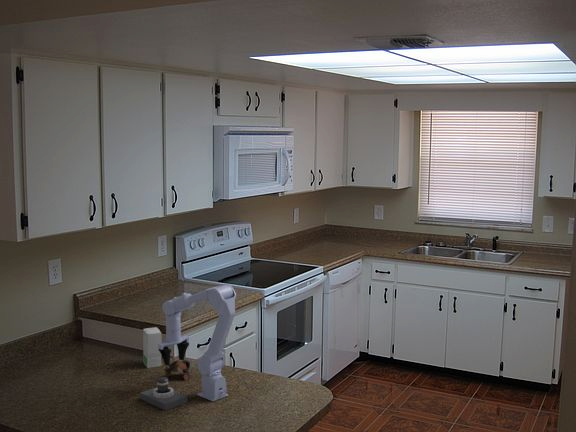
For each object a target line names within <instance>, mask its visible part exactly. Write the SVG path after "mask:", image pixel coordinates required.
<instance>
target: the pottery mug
mask: <svg viewBox="0 0 576 432" xmlns="http://www.w3.org/2000/svg"><path fill="white" fill-rule="evenodd" d="M190 368H191V364H190V361H189V360H188V359H186V360H185V359H184V360H183V361H181V360H179V359H178V360H175V361H173V362H171V363H170V364H169V365H168V366H166V367H165V368H164V369H163V371H164V373H165V377H166V376H169V377H172V372H175V373H178V372H179V369H180V370H182V373H184V375H182V378H183V379H184V381H185V382H186V381H187V380H188V379H189V378H190V377H191V375H190V373H189V370H190Z"/></svg>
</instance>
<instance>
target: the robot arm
mask: <svg viewBox="0 0 576 432" xmlns="http://www.w3.org/2000/svg"><path fill="white" fill-rule="evenodd" d="M172 298H173V299H170V300H165V302H163V304H162V312H163V314H164V315H165V330H166V331H165V335H166V337H165V340H163V341H161V343H160V344H158V350H159V351H160V353H161V358H162V360H163V362H164V365H165V366H166V367H169V365H170V364H171V363H170V361H171V360H170V359H171V353H172V349H171V348H169V347H171V346H175V345H176V347H177V351H178V354H177V355H178V360H179V361H181V362H183V361H184V360H185V356H186V352H187V350H188V348H189V346H190V342H189V341H190V336H189V335H186V334H185V335H182V329H181V328H182V327H181V325H182V324H181V322H182V321H181V317H182V312H183V311H186V310H189V309H191V308H193V307H195V303H197V302H201V301H203V300H205V301H206V302H209V304H210V305H211V307H213V309H214V310H215V311H216V313H218V314H219V316H218V318H217V321H216V324H215V327H214V329H213V333H212V336H211V339H210V342H209V345H208V348H207V350H206V351H204V353H203V354H202V356H201V359H200V360H198V362H197V365H196V366H197V369H198V372H199V374H200V375H201V392H198V393H197V396H198V397H201V398H204V399H207V400H208V401H211V402H215V401H218V400H220V399H223V398H225V397H226V398H227V397H228V396H229V394H228V393H227V379H226V378H225V377H224V376H223V375H222V373H221V372H222V368H223V367H224V365H225V356H226V354H225V352H223V350H224V347H225V344H226V343H227V342H226V341H227V339H228V337H229V336H228V335H229V333H230V330H231V327H232V324H233V322H234V317H235V315H236V302H235V300H236V298H237V293H236V291H235V289H234V287H233V286H232V285H230V284H229V283H225V284H223V285H218V286H212V287H209V288H206V289H203V290H201V291H198V292H196V293H194V294H191V293H186V292H184V293H181V295H180V296H174V297H172Z"/></svg>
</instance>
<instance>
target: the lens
mask: <svg viewBox="0 0 576 432" xmlns="http://www.w3.org/2000/svg"><path fill="white" fill-rule="evenodd" d="M156 384H157V387H158V393H162V394H163V393H168V387H169V378H168V377H166V376H161V377H158V378H157V382H156Z"/></svg>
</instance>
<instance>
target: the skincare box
mask: <svg viewBox="0 0 576 432" xmlns="http://www.w3.org/2000/svg"><path fill="white" fill-rule="evenodd" d="M142 332H143V334H142V338H143V339H142V342H143V343H142V345H143V346H142V347H143V349H142V350H143V352H142V355H143V357H142V358H143V359H142V360H143V361H142V362H143V364H144V366H145V367H146V368H147V369H151V368H158V367H162V355H161V353H160V351H159V350H158V344H160V343H162V332H161V331H160V329H159V328H158V327H157V326H155V327H147V328H143V329H142Z"/></svg>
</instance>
